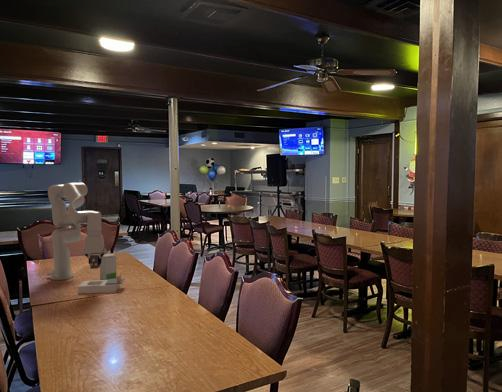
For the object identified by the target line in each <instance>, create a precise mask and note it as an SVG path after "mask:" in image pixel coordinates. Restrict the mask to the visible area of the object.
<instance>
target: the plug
mask: <svg viewBox="0 0 502 392" xmlns="http://www.w3.org/2000/svg"><path fill="white" fill-rule="evenodd" d="M98 258H99V256H98V254H92V255H91V256H90V264H89V268H90V270H93V269H94V270H95V269H100V265H98Z"/></svg>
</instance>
